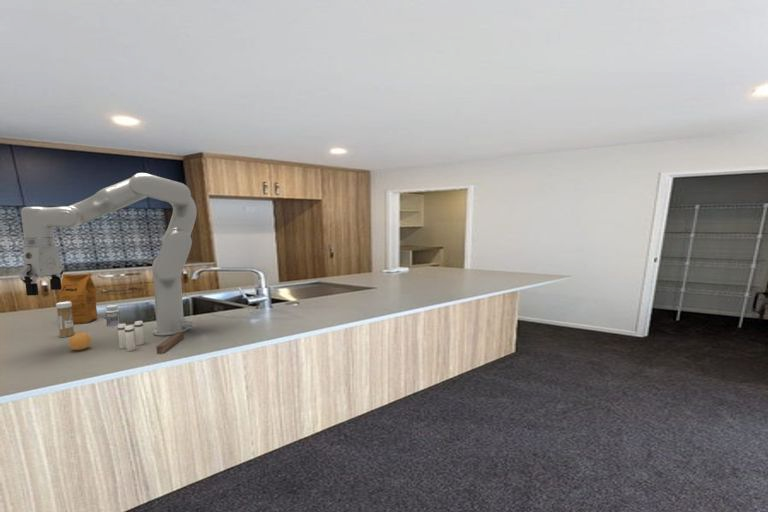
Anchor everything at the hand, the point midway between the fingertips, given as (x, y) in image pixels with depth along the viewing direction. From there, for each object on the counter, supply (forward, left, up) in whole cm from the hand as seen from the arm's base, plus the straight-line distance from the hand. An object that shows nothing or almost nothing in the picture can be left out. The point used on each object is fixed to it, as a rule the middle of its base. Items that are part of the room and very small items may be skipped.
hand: (44, 292), depth 124 cm
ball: (-10, +1, -18) cm, 20 cm away
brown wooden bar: (-40, +1, -21) cm, 45 cm away
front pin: (-24, +1, -21) cm, 32 cm away
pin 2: (-28, -2, -21) cm, 35 cm away
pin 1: (-28, +4, -21) cm, 35 cm away
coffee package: (+16, -39, -21) cm, 47 cm away
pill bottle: (-2, -31, -21) cm, 38 cm away
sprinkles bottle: (+7, -17, -21) cm, 28 cm away
